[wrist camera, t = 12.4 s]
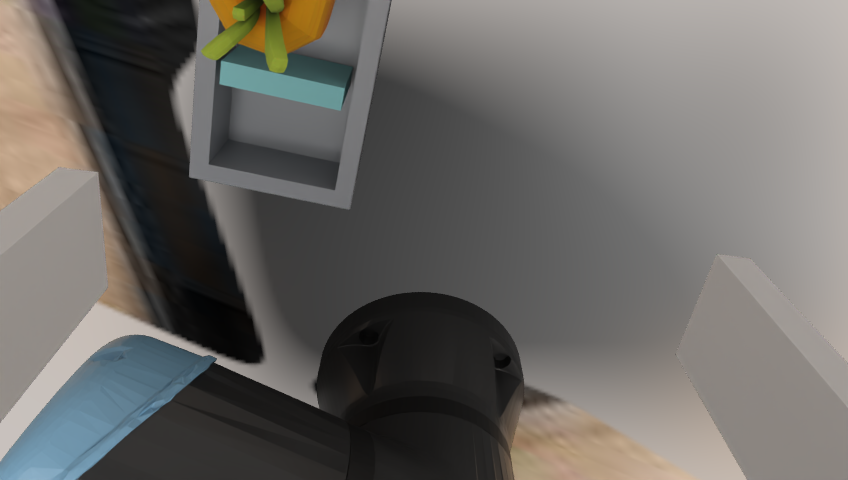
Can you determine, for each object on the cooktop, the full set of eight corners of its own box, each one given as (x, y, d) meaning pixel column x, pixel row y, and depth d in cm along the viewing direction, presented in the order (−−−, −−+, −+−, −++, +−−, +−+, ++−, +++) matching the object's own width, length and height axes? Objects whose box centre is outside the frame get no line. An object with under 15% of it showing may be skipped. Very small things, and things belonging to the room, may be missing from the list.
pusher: (349, 87, 37) (340, 110, 33) (240, 63, 37) (219, 84, 33) (353, 66, 37) (344, 88, 33) (243, 42, 36) (221, 60, 32)
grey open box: (357, 175, 41) (349, 209, 37) (214, 145, 40) (189, 177, 36) (415, -124, 33) (414, -126, 29) (239, -171, 32) (209, -179, 28)
